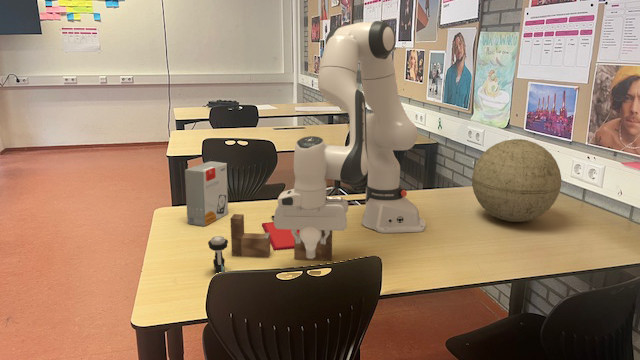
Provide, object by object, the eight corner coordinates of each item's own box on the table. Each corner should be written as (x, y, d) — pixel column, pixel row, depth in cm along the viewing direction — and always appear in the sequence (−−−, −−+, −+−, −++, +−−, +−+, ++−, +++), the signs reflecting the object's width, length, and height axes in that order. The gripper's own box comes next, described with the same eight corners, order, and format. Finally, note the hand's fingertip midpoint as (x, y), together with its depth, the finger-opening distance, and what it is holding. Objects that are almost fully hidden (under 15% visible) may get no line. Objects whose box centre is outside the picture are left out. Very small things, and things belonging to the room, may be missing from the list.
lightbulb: (305, 265, 133) (305, 228, 130) (296, 256, 138) (295, 220, 135) (325, 260, 136) (326, 224, 133) (315, 252, 141) (315, 217, 138)
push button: (208, 266, 138) (206, 234, 135) (227, 264, 140) (225, 232, 137) (210, 277, 132) (208, 243, 129) (230, 274, 134) (228, 241, 131)
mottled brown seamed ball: (516, 203, 197) (525, 131, 189) (574, 229, 170) (587, 145, 162) (452, 210, 188) (459, 134, 180) (503, 238, 161) (514, 150, 153)
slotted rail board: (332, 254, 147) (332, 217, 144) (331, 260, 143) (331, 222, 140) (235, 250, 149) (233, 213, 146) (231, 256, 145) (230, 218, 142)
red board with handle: (298, 215, 181) (258, 219, 177) (298, 208, 181) (258, 212, 177) (320, 247, 154) (274, 253, 150) (320, 239, 153) (273, 244, 149)
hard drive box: (205, 227, 168) (201, 172, 163) (186, 224, 171) (183, 169, 166) (229, 213, 182) (226, 162, 177) (211, 211, 185) (209, 160, 180)
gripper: (348, 194, 134) (348, 240, 138) (275, 192, 136) (277, 238, 140) (348, 201, 128) (347, 249, 132) (272, 199, 130) (273, 246, 134)
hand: (310, 243), depth 136 cm, fingers closed on lightbulb, 6 cm apart
